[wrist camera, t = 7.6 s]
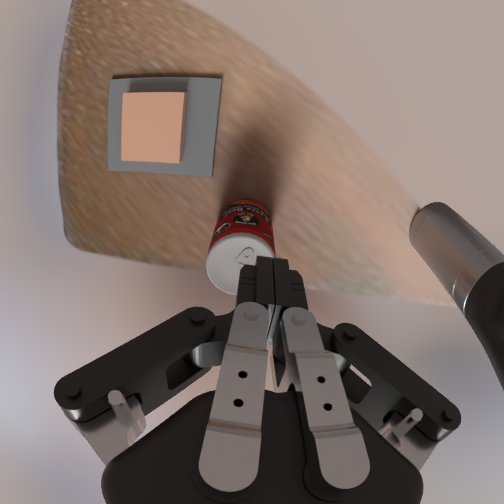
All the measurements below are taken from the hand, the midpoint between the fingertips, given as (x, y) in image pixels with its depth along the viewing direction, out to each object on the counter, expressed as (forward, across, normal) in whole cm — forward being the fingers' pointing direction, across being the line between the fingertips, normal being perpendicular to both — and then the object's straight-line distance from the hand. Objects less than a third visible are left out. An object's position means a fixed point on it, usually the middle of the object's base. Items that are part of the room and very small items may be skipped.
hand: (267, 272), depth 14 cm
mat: (+25, +14, -3) cm, 29 cm away
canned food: (+26, +1, +10) cm, 28 cm away
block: (+24, +10, -3) cm, 26 cm away
